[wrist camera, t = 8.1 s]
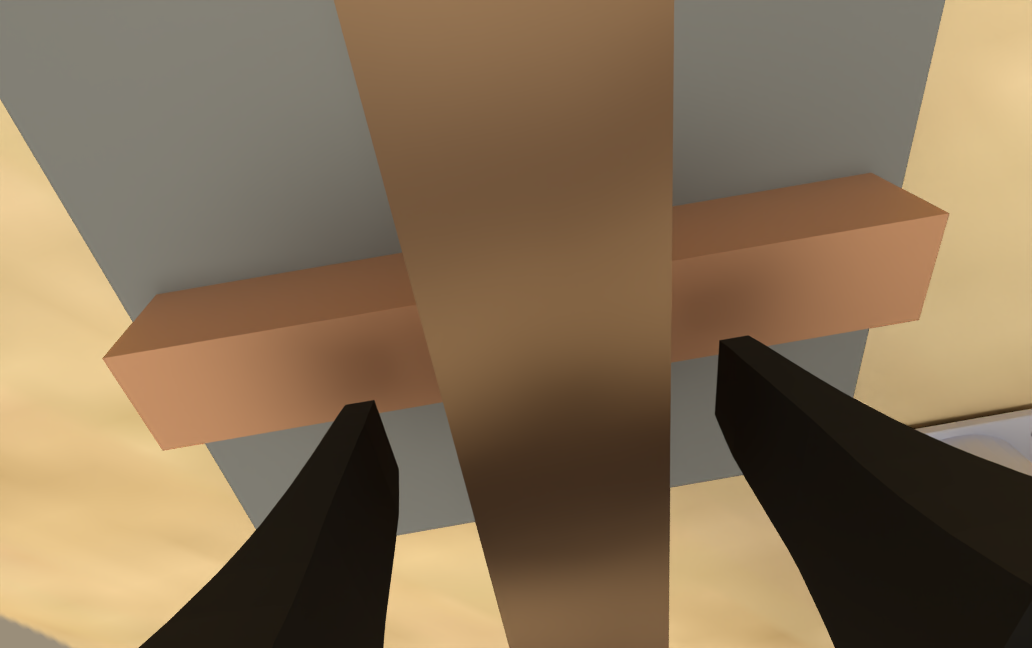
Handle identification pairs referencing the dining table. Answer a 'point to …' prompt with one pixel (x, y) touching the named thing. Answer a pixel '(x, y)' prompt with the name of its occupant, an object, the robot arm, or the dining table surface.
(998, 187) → the dining table surface
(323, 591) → the robot arm
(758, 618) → the dining table surface
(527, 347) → the walnut beam
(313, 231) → the stand
